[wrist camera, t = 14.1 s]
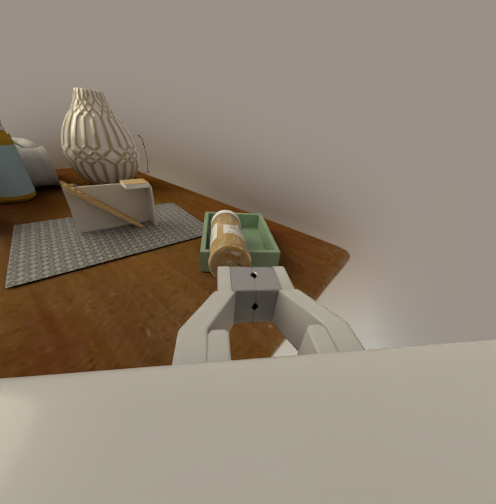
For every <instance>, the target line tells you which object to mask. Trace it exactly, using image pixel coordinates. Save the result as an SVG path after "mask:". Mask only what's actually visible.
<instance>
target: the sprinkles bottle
mask: <svg viewBox="0 0 496 504" xmlns="http://www.w3.org/2000/svg"><path fill="white" fill-rule="evenodd" d="M208 265H209V269H210V272H211V273H212V274H213V276H214V277H216V278H217V273H218V266H231V267H251V256H250V254H249V252H248V250H247V245H246V242H245V239H244V236H243V233H242V230H241V224H240V220H239V218H238V216H237V215H236V214H235V213H234V212H232V211H229V210H222V211H219V212H217V213H216V214H215V215H214V216H213V218H212V221H211V239H210V256H209V260H208Z"/></svg>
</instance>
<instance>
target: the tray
mask: <svg viewBox="0 0 496 504" xmlns="http://www.w3.org/2000/svg"><path fill="white" fill-rule="evenodd" d="M216 213H217V212H205V219H204V226H203V234H202V241H201V249H200V263H201V272H210V269H209V265H208V260H209V256H210V239H211V221H212V218H213V216H214V215H215V214H216ZM235 214H236V215H237V216H238V218H239V220H240V224H241V230H242V233H243V236H244V239H245V242H246V245H247V250H248V252H249V254H250V256H251V267H272V266H278V263H279V258H280V253H281V252H280V250H279V248H278V246H277V244H276V242H275V240H274V238H273V236H272V234H271V232H270V230H269V228H268V226H267V224H266V222H265V220H264V218H263V216H262V214H252V213H235Z"/></svg>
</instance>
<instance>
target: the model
mask: <svg viewBox="0 0 496 504" xmlns="http://www.w3.org/2000/svg"><path fill="white" fill-rule="evenodd" d="M60 184H63V185H61V187H62V189H63V192H64V195H65V197H66V200H67V203H68V205H69V208H70V210H71V213H72V216H73V217H72V218H73V221H74V224H75V226H76V229H77V231H78V233H79V234H80V233H86V232H91V231H96V230H101V229H107V228H113V227H118V226H124V225H129V224H132V225H134V226H136V227H138V228H142V227H143V226H144V225H143V224H142V223H140V222H145V221H151V222H152V223H153V224H154V225H155V226H158V225H159V223H158V217H157V210H156V205H155V204H154V197H153V191H152V186H151V185H149V182H147V181H146V180H144V179H128V180H120V183H118V184H105V185H91V186H78V187H73V186H71V185H69V184H67V183H65V182H63V181H60Z"/></svg>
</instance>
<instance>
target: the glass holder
mask: <svg viewBox="0 0 496 504" xmlns="http://www.w3.org/2000/svg"><path fill="white" fill-rule="evenodd" d="M13 142H14V144H16V145H18V146H19V147H21V148H17V150H18V153H19V155H20V157H21V159H22V162H23V164H24V166H25V168H26V170H27V173H28V175H29V177H30V179H31V182H32V184H33V186H34V187H38V186H47V185H56V186H60V182H59V179H58V176H57V174H56V171H55V169H54V167H53V164H52V162H51V160H50V158H49V156H48V154H47V152H46V150H45V149H44V147H43V146H39V147H37V148H30V147H24V146H22V145H20V144H18V143H17V142H15V141H14V140H13Z"/></svg>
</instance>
